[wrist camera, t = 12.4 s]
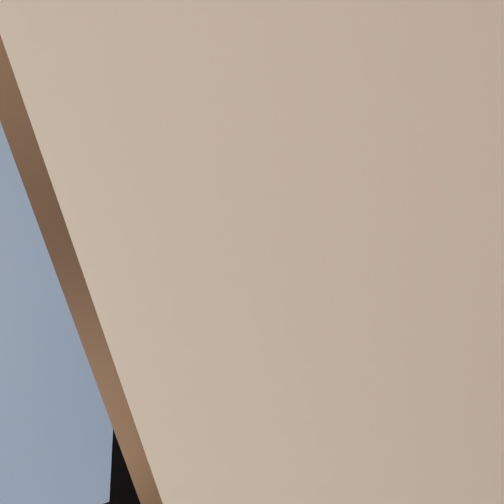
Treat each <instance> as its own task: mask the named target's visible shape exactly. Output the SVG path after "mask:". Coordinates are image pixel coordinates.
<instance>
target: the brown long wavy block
mask: <svg viewBox="0 0 504 504" xmlns="http://www.w3.org/2000/svg"><path fill="white" fill-rule="evenodd" d="M0 122H1V125H2V128H3V130H4V133H5V136H6V138H7V141H8V144H9V147H10V149H11V152H12V155H13V157H14V160H15V163H16V166H17V168H18V171H19V174H20V177H21V179H22V182H23V185H24V187H25V190H26V193H27V196H28V198H29V201H30V204H31V206H32V209H33V212H34V215H35V217H36V220H37V223H38V226H39V228H40V231H41V234H42V236H43V239H44V242H45V245H46V247H47V250H48V253H49V255H50V258H51V261H52V264H53V266H54V269H55V272H56V275H57V277H58V280H59V283H60V285H61V288H62V291H63V294H64V296H65V299H66V302H67V305H68V307H69V310H70V313H71V315H72V318H73V321H74V324H75V326H76V329H77V332H78V334H79V337H80V340H81V343H82V345H83V348H84V351H85V354H86V356H87V359H88V362H89V364H90V367H91V370H92V373H93V375H94V378H95V381H96V383H97V386H98V389H99V392H100V394H101V397H102V400H103V403H104V405H105V408H106V411H107V413H108V416H109V419H110V422H111V424H112V427H113V430H114V432H115V435H116V438H117V441H118V443H119V446H120V449H121V452H122V454H123V457H124V460H125V462H126V465H127V468H128V471H129V473H130V476H131V479H132V482H133V484H134V487H135V490H136V492H137V495H138V498H139V501H140V503H141V504H163V503H162V500H161V497H160V494H159V492H158V489H157V486H156V483H155V480H154V477H153V474H152V471H151V468H150V466H149V463H148V460H147V457H146V454H145V451H144V448H143V445H142V442H141V440H140V437H139V434H138V431H137V428H136V425H135V422H134V419H133V416H132V414H131V411H130V408H129V405H128V402H127V399H126V396H125V393H124V390H123V388H122V385H121V382H120V379H119V376H118V373H117V370H116V367H115V364H114V362H113V359H112V356H111V353H110V350H109V347H108V344H107V341H106V338H105V336H104V333H103V330H102V327H101V324H100V321H99V318H98V315H97V312H96V310H95V307H94V304H93V301H92V298H91V295H90V292H89V289H88V286H87V284H86V281H85V278H84V275H83V272H82V269H81V266H80V263H79V260H78V258H77V255H76V252H75V249H74V246H73V243H72V240H71V237H70V234H69V232H68V229H67V226H66V223H65V220H64V217H63V214H62V211H61V208H60V206H59V203H58V200H57V197H56V194H55V191H54V188H53V185H52V182H51V180H50V177H49V174H48V171H47V168H46V165H45V162H44V159H43V156H42V154H41V151H40V148H39V145H38V142H37V139H36V136H35V133H34V130H33V128H32V125H31V122H30V119H29V116H28V113H27V110H26V107H25V104H24V102H23V99H22V96H21V93H20V90H19V87H18V84H17V81H16V78H15V76H14V73H13V70H12V67H11V64H10V61H9V58H8V55H7V52H6V49H5V47H4V44H3V41H2V38H1V35H0Z"/></svg>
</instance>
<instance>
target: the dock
mask: <svg viewBox="0 0 504 504" xmlns="http://www.w3.org/2000/svg"><path fill="white" fill-rule="evenodd" d="M112 440H113V427H112V424H111V422H110V419H109V416H108V413H107V411H106V408H105V405H104V403H103V400H102V397H101V394H100V392H99V389H98V386H97V383H96V381H95V378H94V375H93V373H92V370H91V367H90V364H89V362H88V359H87V356H86V354H85V351H84V348H83V345H82V343H81V340H80V337H79V334H78V332H77V329H76V326H75V324H74V321H73V318H72V315H71V313H70V310H69V307H68V305H67V302H66V299H65V296H64V294H63V291H62V288H61V285H60V283H59V280H58V277H57V275H56V272H55V269H54V266H53V264H52V261H51V258H50V255H49V253H48V250H47V247H46V245H45V242H44V239H43V236H42V234H41V231H40V228H39V226H38V223H37V220H36V217H35V215H34V212H33V209H32V206H31V204H30V201H29V198H28V196H27V193H26V190H25V187H24V185H23V182H22V179H21V177H20V174H19V171H18V168H17V166H16V163H15V160H14V157H13V155H12V152H11V149H10V147H9V144H8V141H7V138H6V136H5V133H4V130H3V128H2V125H1V122H0V504H104V503H107V502H109V499H110V480H111V460H112Z"/></svg>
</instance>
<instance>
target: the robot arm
mask: <svg viewBox="0 0 504 504" xmlns="http://www.w3.org/2000/svg"><path fill="white" fill-rule="evenodd" d="M104 504H141V503H140V501H139V498H138V495H137V492H136V490H135V487H134V484H133V482H132V479H131V476H130V473H129V471H128V468H127V465H126V462H125V460H124V457H123V454H122V452H121V449H120V446H119V443H118V441H117V438H116V435H115V432H114V430H113V440H112V460H111V480H110V499H109V502H107V503H104Z"/></svg>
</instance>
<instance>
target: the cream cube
mask: <svg viewBox="0 0 504 504" xmlns="http://www.w3.org/2000/svg"><path fill="white" fill-rule="evenodd" d="M0 35H1V38H2V41H3V44H4V47H5V49H6V52H7V55H8V58H9V61H10V64H11V67H12V70H13V73H14V76H15V78H16V81H17V84H18V87H19V90H20V93H21V96H22V99H23V102H24V104H25V107H26V110H27V113H28V116H29V119H30V122H31V125H32V128H33V130H34V133H35V136H36V139H37V142H38V145H39V148H40V151H41V154H42V156H43V159H44V162H45V165H46V168H47V171H48V174H49V177H50V180H51V182H52V185H53V188H54V191H55V194H56V197H57V200H58V203H59V206H60V208H61V211H62V214H63V217H64V220H65V223H66V226H67V229H68V232H69V234H70V237H71V240H72V243H73V246H74V249H75V252H76V255H77V258H78V260H79V263H80V266H81V269H82V272H83V275H84V278H85V281H86V284H87V286H88V289H89V292H90V295H91V298H92V301H93V304H94V307H95V310H96V312H97V315H98V318H99V321H100V324H101V327H102V330H103V333H104V336H105V338H106V341H107V344H108V347H109V350H110V353H111V356H112V359H113V362H114V364H115V367H116V370H117V373H118V376H119V379H120V382H121V385H122V388H123V390H124V393H125V396H126V399H127V402H128V405H129V408H130V411H131V414H132V416H133V419H134V422H135V425H136V428H137V431H138V434H139V437H140V440H141V442H142V445H143V448H144V451H145V454H146V457H147V460H148V463H149V466H150V468H151V471H152V474H153V477H154V480H155V483H156V486H157V489H158V492H159V494H160V497H161V500H162V503H163V504H504V0H0Z"/></svg>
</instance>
